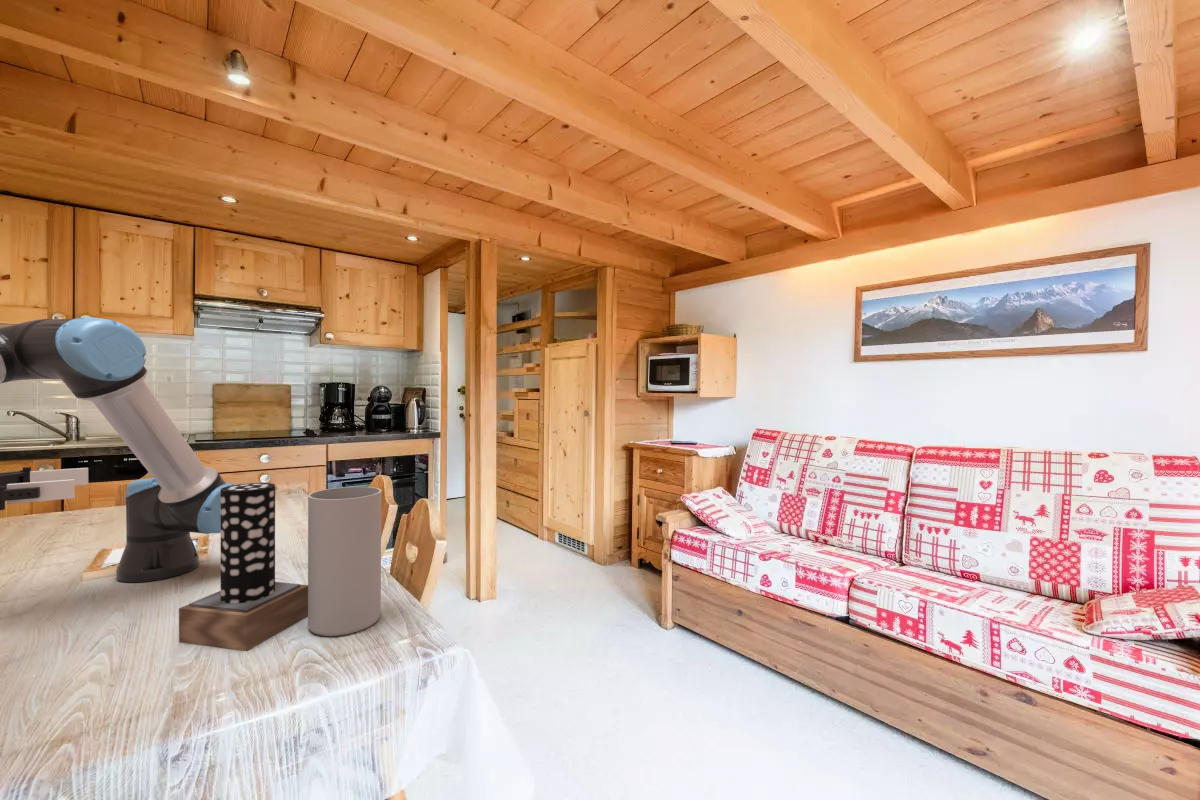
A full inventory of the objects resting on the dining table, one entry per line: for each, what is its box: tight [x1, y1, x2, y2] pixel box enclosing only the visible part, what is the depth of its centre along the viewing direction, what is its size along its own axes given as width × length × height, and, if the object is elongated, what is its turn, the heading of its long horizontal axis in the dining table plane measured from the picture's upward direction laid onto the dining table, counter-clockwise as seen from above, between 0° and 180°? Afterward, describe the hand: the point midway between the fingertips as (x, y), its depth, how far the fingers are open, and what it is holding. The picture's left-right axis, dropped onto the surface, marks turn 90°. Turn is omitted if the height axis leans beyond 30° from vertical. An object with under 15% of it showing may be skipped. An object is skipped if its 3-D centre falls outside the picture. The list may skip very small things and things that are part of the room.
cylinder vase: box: [307, 486, 382, 637], centre depth 97 cm, size 12×12×25 cm
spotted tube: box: [220, 482, 276, 603], centre depth 94 cm, size 8×8×20 cm
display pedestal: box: [178, 581, 308, 652], centre depth 94 cm, size 14×14×6 cm
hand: (82, 481), depth 80 cm, fingers open, 13 cm apart
